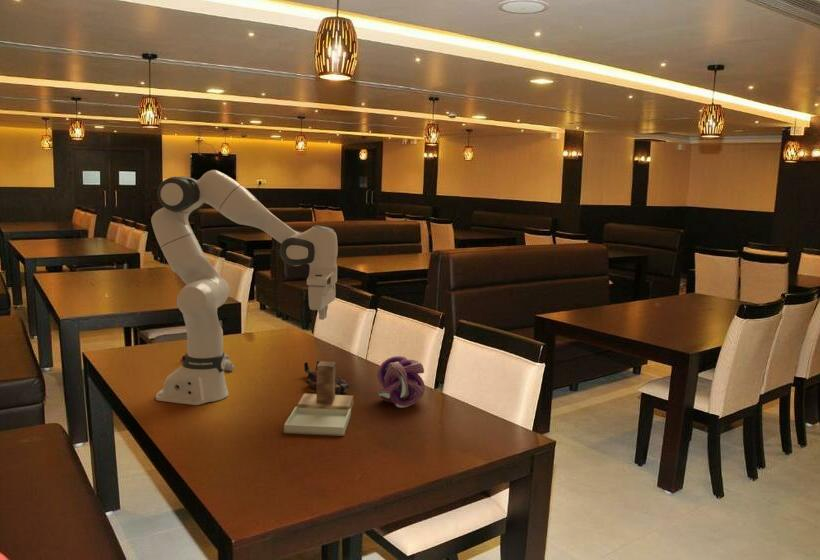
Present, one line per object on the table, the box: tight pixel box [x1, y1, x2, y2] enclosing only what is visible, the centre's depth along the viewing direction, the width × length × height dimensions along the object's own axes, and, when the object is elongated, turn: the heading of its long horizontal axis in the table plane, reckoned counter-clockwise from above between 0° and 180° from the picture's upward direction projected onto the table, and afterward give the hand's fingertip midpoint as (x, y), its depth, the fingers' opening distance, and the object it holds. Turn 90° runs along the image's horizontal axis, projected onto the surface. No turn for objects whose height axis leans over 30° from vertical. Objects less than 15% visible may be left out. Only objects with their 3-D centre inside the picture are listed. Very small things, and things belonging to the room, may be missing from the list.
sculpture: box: [376, 355, 426, 409], centre depth 205 cm, size 16×17×20 cm
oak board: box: [297, 393, 354, 411], centre depth 197 cm, size 16×10×3 cm, turn 88°
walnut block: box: [316, 360, 337, 404], centre depth 195 cm, size 5×5×12 cm
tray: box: [283, 405, 352, 437], centre depth 184 cm, size 17×16×2 cm
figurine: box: [303, 360, 350, 395], centre depth 217 cm, size 13×6×30 cm
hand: (322, 318), depth 202 cm, fingers closed
